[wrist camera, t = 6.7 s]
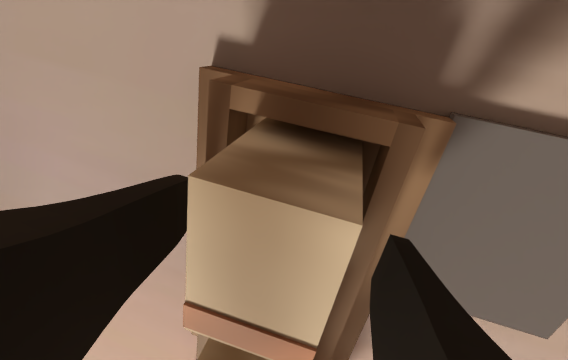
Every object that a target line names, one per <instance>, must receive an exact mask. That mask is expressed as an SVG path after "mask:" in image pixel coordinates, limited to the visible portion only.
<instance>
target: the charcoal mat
mask: <svg viewBox="0 0 568 360" xmlns="http://www.w3.org/2000/svg"><path fill="white" fill-rule="evenodd" d="M449 118H450V119H452V120H453V121H454V122H455V123H456V126H455V128H454V130H453V133H452V135H451V137H450V139H449V141H448V143H447V146H446V148H445V150H444V152H443V154H442V157H441V159H440V161H439V163H438V165H437V167H436V170H435V172H434V174H433V176H432V178H431V181H430V183H429V185H428V187H427V189H426V191H425V194H424V196H423V198H422V200H421V202H420V204H419V207H418V209H417V211H416V213H415V215H414V218H413V220H412V222H411V224H410V226H409V228H408V231H407V233H406V235H405V237H404V238H406V239H409V240H410V241H411V242H412V243H413V245H414V246H415V247H416V249H417V250H418V251H419V253H420V254H421V255H422V257H423V258H424V259H425V261H426V262H427V263H428V265H429V266H430V267H431V269H432V270H433V271H434V272H435V274H436V275H437V276H438V278H439V279H440V280H441V281H442V283H443V284H444V285H445V287H446V288H447V289H448V290H449V292H450V293H451V294H452V295H453V296H454V298H455V299H456V300H457V301H458V302H459V304H460V305H461V306H462V307H463V308H464V309H465V310H466V312H467V313H468V314H469V315H470V316H473V317H476V318H480V319H483V320H486V321H489V322H493V323H496V324H499V325H502V326H506V327H509V328H512V329H515V330H519V331H522V332H525V333H528V334H532V335H535V336H538V337H541V338H545V339H548V338H549V337H550V336H551V335H552V334H553V333H554V332H555V331H556V330H557V329H558V328H559V327H560V326H561V325H562V323H563V322H564V321H565V320H566V319H567V318H568V137H564V136H559V135H555V134H550V133H545V132H541V131H536V130H531V129H527V128H522V127H517V126H513V125H508V124H503V123H499V122H494V121H489V120H485V119H480V118H475V117H471V116H466V115H461V114H457V113H452V112H451V114H450V116H449Z"/></svg>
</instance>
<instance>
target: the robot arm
mask: <svg viewBox="0 0 568 360" xmlns="http://www.w3.org/2000/svg"><path fill="white" fill-rule="evenodd" d="M187 207H188V177H185V176H181V175H172V176H167V177H163V178H159V179H156V180H152V181H148V182H145V183H141V184H137V185H134V186H130V187H126V188H123V189H119V190H115V191H111V192H107V193H103V194H98V195H94V196H90V197H86V198H81V199H77V200H71V201H66V202H61V203H55V204H49V205H43V206H36V207H28V208H20V209H12V210H3V211H0V360H82V359H83V358H84V356H85V355H86V354H87V352H88V351H89V350H90V348H91V347H92V345H93V344H94V343H95V341H96V340H97V338H98V337H99V336H100V334H101V333H102V331H103V330H104V329H105V327H106V326H107V325H108V324H109V322H110V321H111V320H112V318H113V317H114V316H115V314H116V313H117V312H118V310H119V309H120V308H121V306H122V305H123V304H124V303H125V301H126V300H127V299H128V298H129V297H130V296H131V294H132V293H133V292H134V291H135V290H136V289H137V288H138V287H139V286H140V285H141V283H142V282H143V281H144V280H145V279H146V278H147V277H148V276H149V275H150V274H151V273H152V272H153V271H154V269H155V268H156V267H157V266H158V265H159V264H160V263H161V262H162V261H163V260H164V259H165V258H166V256H167V255H168V254H169V253H170V252H171V251H172V250H173V249H174V248H175V247H176V245H177V244H178V243H179V241H180V240H181V239H182V237H183V236H184V234H185V233H186V231H187ZM370 320H371V335H372V348H373V360H512V359H511V358H510V357H509V356H508V355H507V354H506V353H505V352H504V351H503V350H502V349H501V348H500V347H499V346H498V345H497V344H496V343H495V342H494V341H493V340H492V339H491V338H490V337H489V336H488V335H487V334H486V333H485V332H484V331H483V330H482V328H481V327H480V326H479V325H478V324H477V323H476V322H475V321H474V320H473V319H472V317H471V316H470V315H469V314H468V313H467V312H466V310H465V309H464V308H463V307H462V306H461V305H460V304H459V302H458V301H457V300H456V299H455V298H454V296H453V295H452V294H451V293H450V292H449V290H448V289H447V288H446V287H445V285H444V284H443V283H442V281H441V280H440V279H439V278H438V276H437V275H436V274H435V272H434V271H433V270H432V269H431V267H430V266H429V265H428V263H427V262H426V261H425V259H424V258H423V257H422V255H421V254H420V253H419V251H418V250H417V249H416V247H415V246H414V245H413V243H412V242H411V241H410V240H409V239H406V238H402V237H399V236H395V235H392V234H390V236H389V238H388V241H387V243H386V245H385V248H384V250H383V252H382V255H381V257H380V259H379V262H378V264H377V266H376V269H375V271H374V273H373V276H372V278H371V290H370Z"/></svg>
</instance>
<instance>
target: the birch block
mask: <svg viewBox="0 0 568 360" xmlns="http://www.w3.org/2000/svg"><path fill="white" fill-rule="evenodd" d="M362 226H363V169H362V141H360V140H356V139H352V138H347V137H343V136H339V135H335V134H331V133H327V132H323V131H319V130H315V129H311V128H307V127H303V126H299V125H294V124H290V123H286V122H282V121H278V120H274V119H270V118H265V119H263V120H262V121H261V122H259V123H258V124H257V125H255V126H254V127H253V128H251V129H250V130H249V131H247V132H246V133H245V134H243V135H242V136H241V137H239V138H238V139H237V140H235V141H234V142H233V143H231V144H230V145H229V146H227V147H226V148H225V149H223V150H222V151H221V152H219V153H218V154H217V155H215V156H214V157H213V158H211V159H210V160H209V161H207V162H206V163H205V164H203V165H202V166H201V167H199V168H198V169H197V170H195V171H194V172H192V173H191V174H190V175H188V207H187V250H186V293H185V303H184V305H183V327H185V329H186V330H189V331H192V332H195V333H197V334H200V335H203V336H205V337H208V338H211V339H214V340H216V341H219V342H222V343H224V344H227V345H230V346H233V347H235V348H238V349H241V350H243V351H246V352H249V353H252V354H254V355H257V356H260V357H262V358H265V359H268V360H313V359H314V356H315V354H316V349H317V346H318V344H319V341H320V338H321V336H322V333H323V330H324V328H325V325H326V322H327V320H328V317H329V314H330V312H331V309H332V306H333V304H334V301H335V298H336V296H337V293H338V290H339V288H340V285H341V282H342V280H343V277H344V274H345V272H346V269H347V266H348V264H349V261H350V258H351V256H352V253H353V250H354V248H355V245H356V242H357V240H358V237H359V234H360V232H361V229H362Z"/></svg>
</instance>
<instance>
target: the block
mask: <svg viewBox="0 0 568 360" xmlns="http://www.w3.org/2000/svg"><path fill="white" fill-rule="evenodd" d="M197 360H268V359H265V358H262V357H260V356H257V355H254V354H252V353H249V352H246V351H243V350H241V349H238V348H235V347H233V346H230V345H227V344H224V343H222V342H219V341H216V340H214V339H211V338H208V340H207V342H206V344H205V346H204V348H203V350H202V352H201V354H200V355H199V357H198V359H197Z"/></svg>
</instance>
